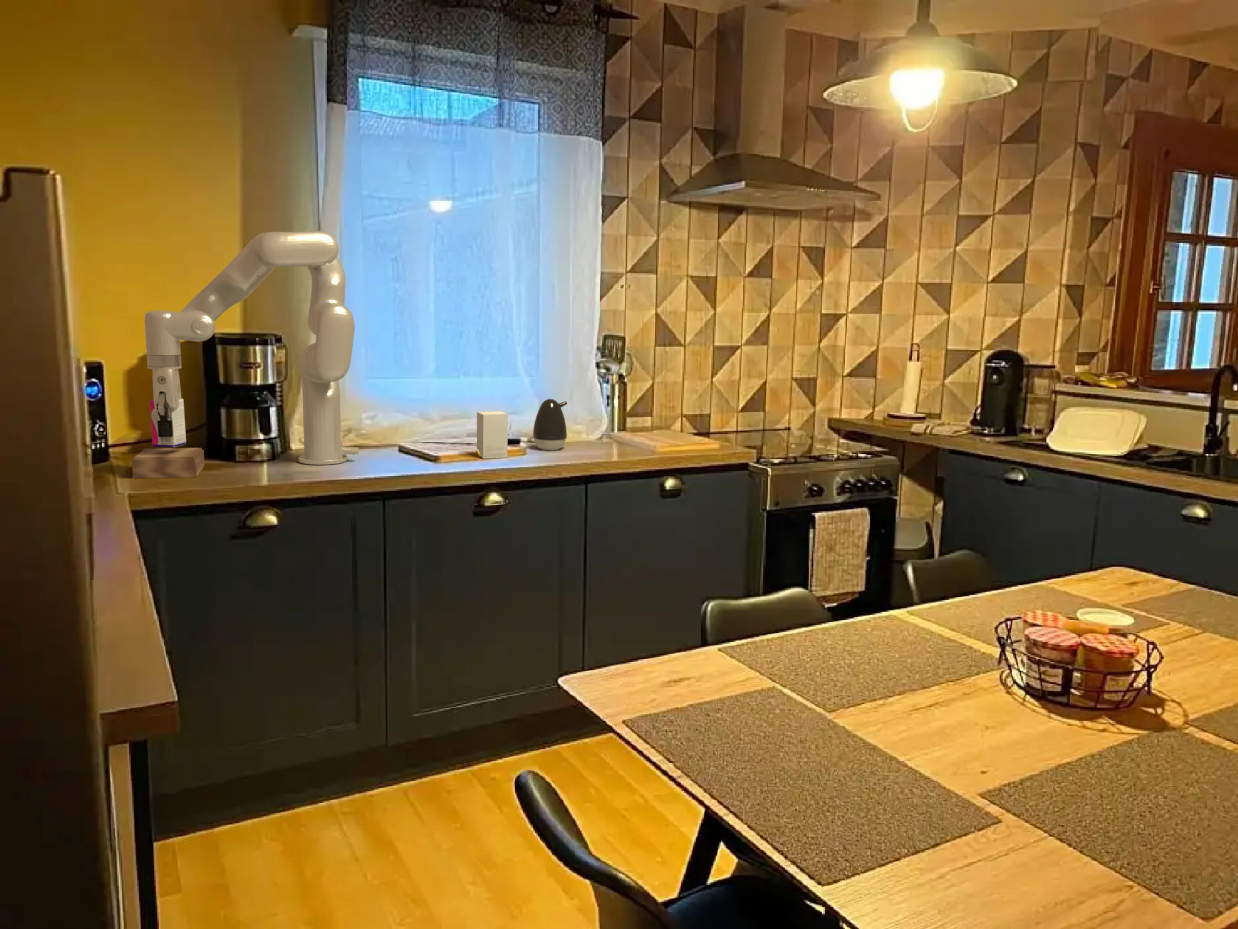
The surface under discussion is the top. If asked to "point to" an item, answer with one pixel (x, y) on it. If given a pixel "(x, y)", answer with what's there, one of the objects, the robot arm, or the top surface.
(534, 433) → the pump dispenser
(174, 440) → the supplement box
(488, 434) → the supplement box
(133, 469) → the block
